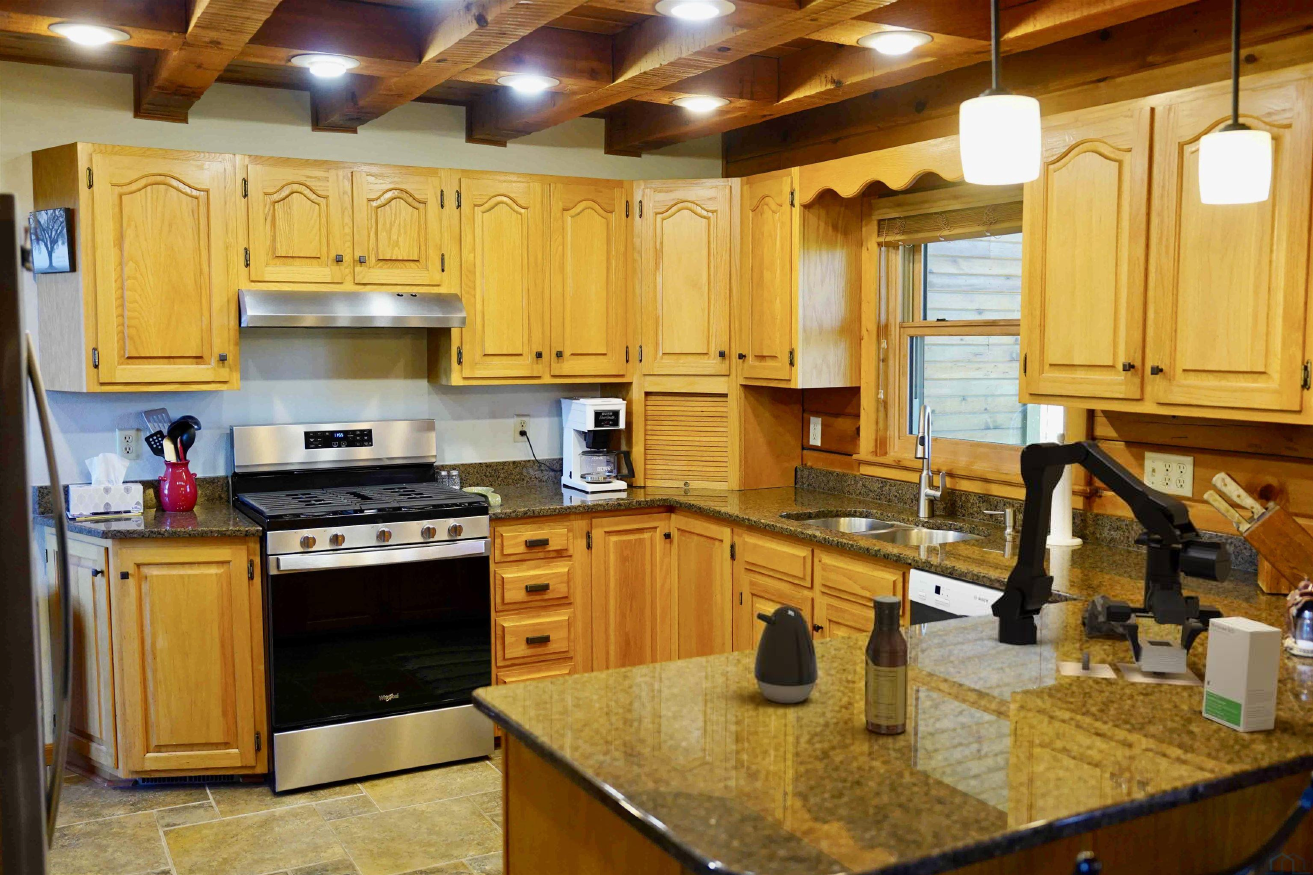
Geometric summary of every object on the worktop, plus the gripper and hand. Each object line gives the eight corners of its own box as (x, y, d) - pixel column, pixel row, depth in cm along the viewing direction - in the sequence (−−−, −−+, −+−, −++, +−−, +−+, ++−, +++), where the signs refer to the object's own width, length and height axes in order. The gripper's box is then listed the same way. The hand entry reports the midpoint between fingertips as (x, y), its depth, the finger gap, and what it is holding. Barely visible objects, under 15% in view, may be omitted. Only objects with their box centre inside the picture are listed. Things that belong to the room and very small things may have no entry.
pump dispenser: (742, 693, 190) (743, 601, 189) (798, 687, 194) (800, 597, 193) (769, 711, 181) (771, 614, 180) (828, 704, 184) (830, 610, 183)
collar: (1133, 659, 204) (1134, 637, 204) (1175, 662, 203) (1176, 640, 203) (1141, 670, 198) (1142, 647, 197) (1185, 673, 196) (1186, 649, 196)
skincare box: (1200, 717, 180) (1205, 618, 179) (1234, 713, 183) (1238, 615, 181) (1244, 733, 172) (1249, 630, 171) (1278, 729, 175) (1283, 627, 174)
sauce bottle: (877, 720, 177) (880, 591, 176) (914, 728, 173) (918, 597, 172) (855, 730, 172) (858, 597, 171) (893, 739, 168) (897, 603, 167)
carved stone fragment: (1142, 641, 227) (1119, 595, 227) (1097, 659, 229) (1074, 614, 229) (1133, 626, 237) (1110, 583, 237) (1090, 645, 239) (1067, 601, 240)
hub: (1128, 688, 196) (1129, 663, 195) (1115, 669, 207) (1116, 646, 207) (1204, 693, 193) (1206, 668, 193) (1187, 673, 205) (1188, 650, 205)
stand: (1061, 681, 199) (1062, 658, 199) (1054, 667, 208) (1055, 645, 208) (1117, 685, 198) (1118, 661, 197) (1107, 671, 206) (1108, 649, 206)
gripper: (1114, 579, 193) (1110, 671, 194) (1235, 585, 189) (1230, 679, 191) (1102, 567, 204) (1098, 654, 205) (1216, 572, 200) (1212, 661, 201)
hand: (1158, 662), depth 200 cm, fingers closed on collar, 7 cm apart
